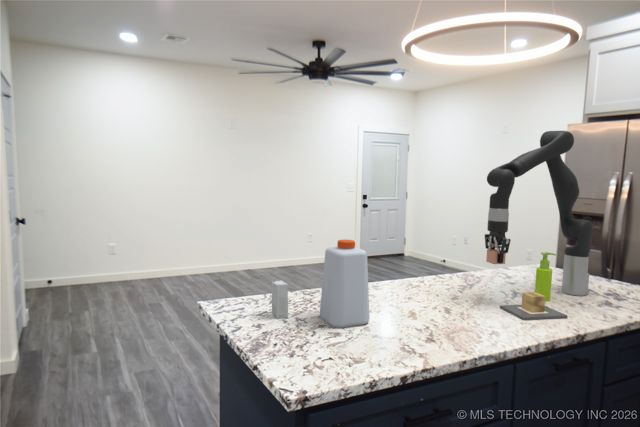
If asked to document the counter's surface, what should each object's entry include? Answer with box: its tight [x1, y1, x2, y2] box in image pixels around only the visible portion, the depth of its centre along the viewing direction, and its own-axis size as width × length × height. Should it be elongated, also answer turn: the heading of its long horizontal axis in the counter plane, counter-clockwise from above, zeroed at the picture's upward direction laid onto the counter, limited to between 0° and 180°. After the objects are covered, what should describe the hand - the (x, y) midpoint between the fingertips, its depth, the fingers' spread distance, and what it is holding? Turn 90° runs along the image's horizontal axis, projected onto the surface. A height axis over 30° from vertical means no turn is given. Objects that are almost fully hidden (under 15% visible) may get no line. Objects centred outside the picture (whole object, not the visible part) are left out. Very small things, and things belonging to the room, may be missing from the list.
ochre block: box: [520, 291, 546, 313], centre depth 156 cm, size 6×6×6 cm
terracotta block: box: [486, 248, 507, 265], centre depth 165 cm, size 5×5×5 cm
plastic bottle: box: [319, 239, 370, 328], centre depth 143 cm, size 15×15×28 cm
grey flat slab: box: [499, 304, 568, 321], centre depth 156 cm, size 18×14×1 cm
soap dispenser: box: [534, 251, 557, 302], centre depth 173 cm, size 6×7×20 cm
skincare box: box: [270, 279, 289, 320], centre depth 146 cm, size 6×4×12 cm
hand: (495, 261), depth 166 cm, fingers closed on terracotta block, 5 cm apart
